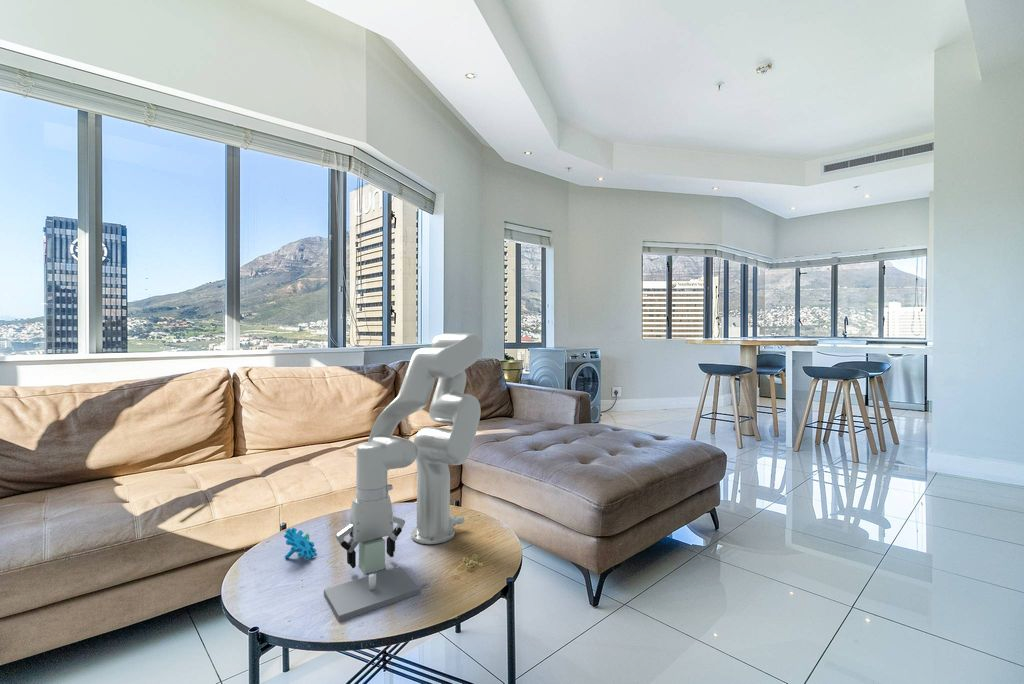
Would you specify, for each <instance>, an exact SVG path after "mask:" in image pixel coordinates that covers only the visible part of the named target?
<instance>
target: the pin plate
mask: <svg viewBox="0 0 1024 684" xmlns="http://www.w3.org/2000/svg"><path fill="white" fill-rule="evenodd" d="M421 590H422V589H421V587H420V586H419V585H418V584H417V583H416V581H414V579H413V578H412V577H411V576H410V575H409V574H408V573H407V572H406V571H405V569H403V568H402V567H401V566H397V567H394V568H391V569H386V570H384V571H380V572H377V573H369V574H368V576H365V577H361V578H357V579H353V580H351V581H347V582H344V583H341V584H337V585H334V586H332V587H330V586H329V587H327V588H324V589H323V597H325V599H326V602H327V603H328V604H329V606H330V608H331V610H332V612H333V615H335V617H336V619H337V622H342V621H344V620H345V621H346V620H347V619H351V618H354V617H356V616H359V615H362V614H365V613H368V612H371V611H375V610H376V609H379V608H383V607H385V606H388V605H391V604H394V603H397V602H400V601H403V600H405V598H406V599H408V597H409V598H411V597H414V596H417V595H420V594H421V592H422V591H421ZM419 593H420V594H419ZM416 594H417V595H416ZM413 595H414V596H413Z"/></svg>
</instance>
